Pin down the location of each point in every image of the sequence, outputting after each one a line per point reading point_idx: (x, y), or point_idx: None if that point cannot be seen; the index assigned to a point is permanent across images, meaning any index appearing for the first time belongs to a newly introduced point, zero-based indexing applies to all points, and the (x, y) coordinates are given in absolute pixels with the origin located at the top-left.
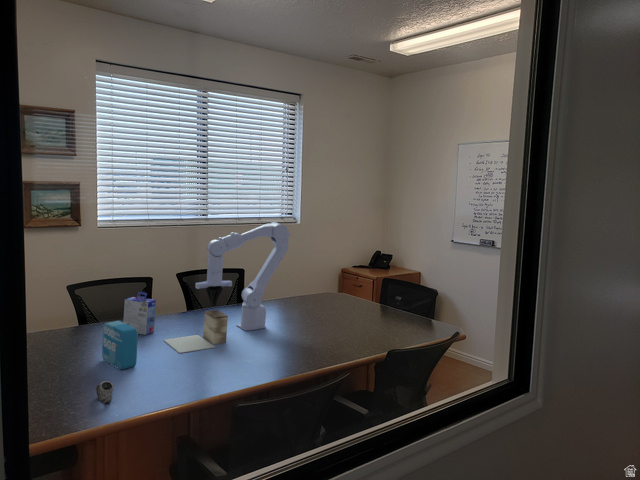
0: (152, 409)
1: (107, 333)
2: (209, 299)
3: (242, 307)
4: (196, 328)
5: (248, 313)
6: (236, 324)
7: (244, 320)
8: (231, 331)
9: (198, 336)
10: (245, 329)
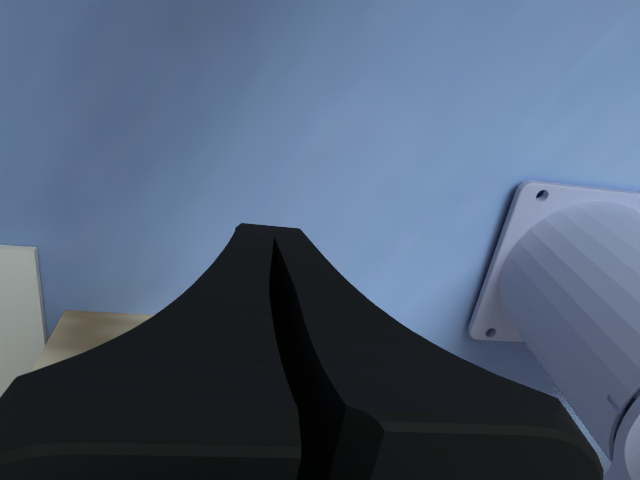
0: None
1: None
2: (217, 263)
3: (621, 384)
4: (116, 44)
5: (579, 417)
6: (522, 189)
7: (529, 334)
8: (369, 284)
9: (23, 288)
10: (472, 330)
